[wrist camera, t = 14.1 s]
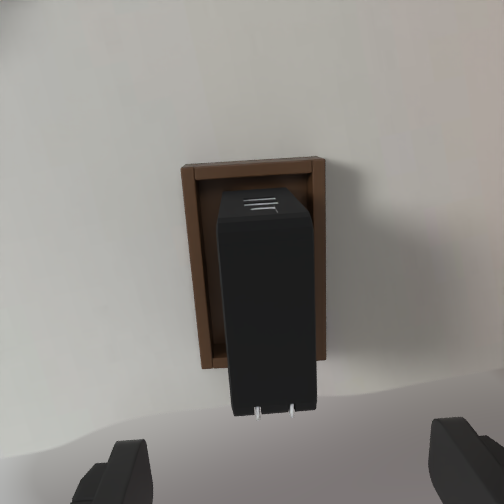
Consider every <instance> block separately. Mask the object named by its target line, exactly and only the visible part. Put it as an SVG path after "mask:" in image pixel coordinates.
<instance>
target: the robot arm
mask: <svg viewBox="0 0 504 504" xmlns="http://www.w3.org/2000/svg"><path fill="white" fill-rule="evenodd" d="M430 437H431V438H430V449H429V460H428V465H429V466H428V467H429V473H430V477H431V481H432V483H433V486H434V488H435V490H436V492H437V493H438V495H439V497H440V499H441V501H442V502H443V504H504V447H503V446H501V445H499V444H498V443H497V442H495V441H494V440H493V439H491V438H490V437H488V436H486V435H485V436H478V435H477V433H476V432H475V431H474V429H473V428H472V427H471V426H470V424H469V423H468V422H467V421H466V419H464V418H463V417H452V418H438V419H434V420H433V421H432V425H431V436H430ZM152 501H153V482H152V475H151V469H150V463H149V457H148V451H147V445H146V441H145V440H144V439H140V440H126V441H117V442H116V443H115V445H114V447H113V450H112V452H111V455H110V458H109V460H108V463H96V464H95V465H94V466H93V467H92V468H91V469H90V470H89V471H88V473H87V474H86V475H85V476H84V477H83V478H82V479H81V480H80V483H79V485H78V487H77V489H76V492H75V494H74V496H73V498H72V503H70V504H152Z"/></svg>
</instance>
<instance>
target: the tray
mask: <svg viewBox="0 0 504 504" xmlns="http://www.w3.org/2000/svg"><path fill="white" fill-rule="evenodd" d="M181 178H182V187H183V197H184V206H185V215H186V225H187V234H188V244H189V253H190V263H191V272H192V281H193V291H194V300H195V310H196V319H197V329H198V338H199V347H200V357H201V366H202V369H211V368H228V362H227V351H226V340H225V329H224V318H223V307H222V296H221V284H220V273H219V262H218V251H217V239H216V225H217V219H218V214H219V208H220V203H221V198H222V193H223V191H238V190H253V189H268V188H282V187H286V188H287V189H288V190H289V191H290V192H291V193H292V194H293V195H294V196H295V197H296V198H297V200H298V201H299V202H300V203H301V204H302V205H303V206H304V207H305V208H306V209H307V210H308V211H309V213H310V216H311V219H312V223H313V229H314V264H315V317H316V361H320V360H326V198H325V159H323V158H320V157H317V156H313V157H296V158H280V159H264V160H248V161H232V162H215V163H199V164H186V165H184V166H183V167H182V168H181Z"/></svg>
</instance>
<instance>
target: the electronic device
mask: <svg viewBox="0 0 504 504" xmlns="http://www.w3.org/2000/svg"><path fill="white" fill-rule="evenodd" d="M216 239H217V251H218V262H219V273H220V284H221V296H222V307H223V318H224V329H225V340H226V351H227V362H228V373H229V385H230V396H231V406H232V410H233V414H234V416H245V415H254V407H255V409H256V420H260V407H261V413H262V414H271V413H283V412H288V411H289V413H290V417H294V409H295V412H296V411H307V410H315V409H316V403H317V371H316V317H315V264H314V229H313V223H312V219H311V216H310V213H309V211H308V210H307V209H306V208H305V207H304V206H303V205H302V204H301V203H300V202H299V201H298V200H297V198H296V197H295V196H294V195H293V194H292V193H291V192H290V191H289V190H288V189H287V188H286V187H282V188H268V189H253V190H238V191H223V193H222V198H221V203H220V208H219V214H218V219H217V225H216Z"/></svg>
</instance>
